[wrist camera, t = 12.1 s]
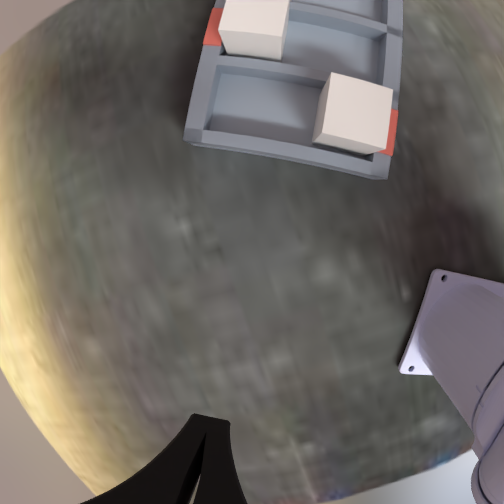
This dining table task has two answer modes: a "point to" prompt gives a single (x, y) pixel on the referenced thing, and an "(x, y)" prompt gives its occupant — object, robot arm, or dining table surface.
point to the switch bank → (297, 83)
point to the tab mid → (255, 28)
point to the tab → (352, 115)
